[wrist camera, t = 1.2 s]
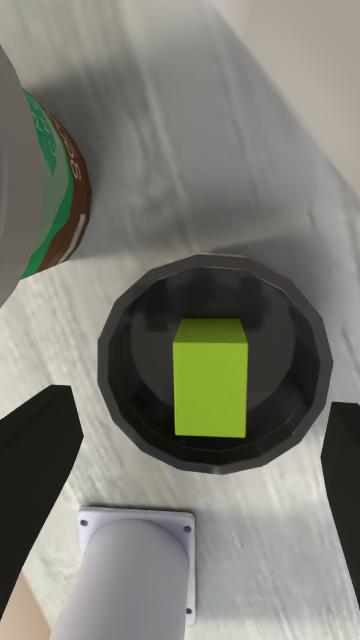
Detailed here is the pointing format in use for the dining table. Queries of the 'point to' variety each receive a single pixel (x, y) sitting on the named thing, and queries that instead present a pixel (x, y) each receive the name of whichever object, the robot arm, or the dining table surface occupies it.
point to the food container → (36, 186)
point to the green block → (210, 378)
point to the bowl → (263, 360)
